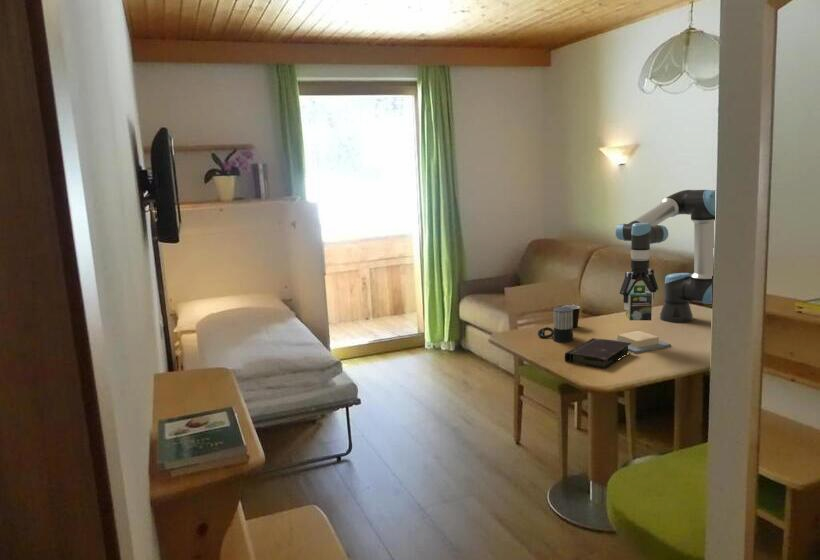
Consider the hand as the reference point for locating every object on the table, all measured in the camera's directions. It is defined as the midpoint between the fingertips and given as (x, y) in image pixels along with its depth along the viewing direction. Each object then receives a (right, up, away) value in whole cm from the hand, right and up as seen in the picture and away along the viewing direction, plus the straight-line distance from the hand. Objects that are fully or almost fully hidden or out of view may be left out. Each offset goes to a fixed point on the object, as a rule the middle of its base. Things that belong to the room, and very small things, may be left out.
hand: (638, 308), depth 264 cm
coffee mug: (-20, -11, +37) cm, 44 cm away
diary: (-21, -21, -11) cm, 31 cm away
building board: (+1, -16, +3) cm, 16 cm away
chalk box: (0, -5, +1) cm, 5 cm away
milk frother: (-32, -15, +18) cm, 39 cm away
